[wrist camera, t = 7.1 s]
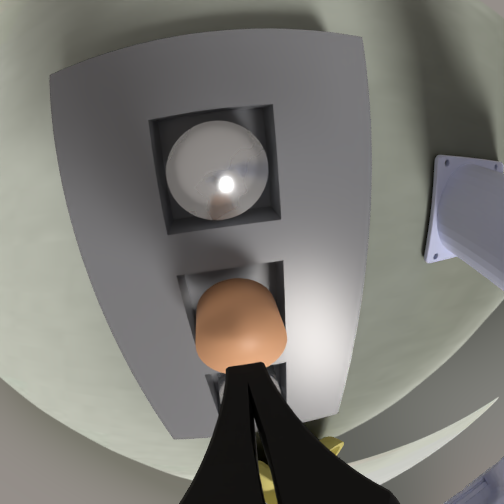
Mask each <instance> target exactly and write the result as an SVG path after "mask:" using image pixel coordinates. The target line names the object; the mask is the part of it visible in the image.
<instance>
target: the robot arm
mask: <svg viewBox="0 0 504 504" xmlns="http://www.w3.org/2000/svg"><path fill="white" fill-rule="evenodd" d="M445 161H446V164H445ZM453 257H459V258H460V259H461V260H463V261H464V262H466V263H467V264H468V265H470V266H471V267H473V268H474V269H475V270H477V271H478V272H479V273H481V274H482V275H483V276H485V277H486V278H487V279H489V280H490V281H491V282H493V283H494V284H495V285H496V286H498V287H499V288H500V289H501V290H503V291H504V174H503V164H502V162H499V161H493V160H486V159H478V158H470V157H460V156H449V155H437V156H436V158H435V164H434V182H433V195H432V205H431V214H430V222H429V229H428V236H427V243H426V248H425V254H424V260H425V261H426V262H427V263H433V262H437V261H441V260H445V259H449V258H453ZM254 419H255V421H254ZM255 422H256V426H257V429H258V432H259V436H260V439H261V442H262V445H263V448H264V452H265V455H266V458H267V461H268V464H269V468H270V471H271V476H272V480H273V485H274V489H275V494H276V498H277V503H278V504H400V503H399V501H398V500H397V498H396V497H395V496H394V495H393V494H392V493H391V492H390V491H389V490H388V489H386V488H384V487H382V486H380V485H378V484H377V483H375V482H373V481H372V480H370V479H368V478H367V477H365V476H363V475H362V474H360V473H359V472H357V471H356V470H354V469H353V468H352V467H350V466H349V465H348V464H346V463H345V462H344V461H343V460H341V459H340V458H338V457H337V456H336V455H335V454H334V453H332V452H331V451H330V450H329V449H328V448H327V447H326V446H325V445H324V444H322V443H321V442H320V441H319V440H318V439H317V438H316V437H315V436H314V435H313V434H312V433H311V432H310V431H309V429H308V428H307V427H306V426H305V425H304V424H303V423H302V421H301V420H300V419H299V418H298V417H297V416H296V414H295V413H294V412H293V410H292V409H291V408H290V406H289V405H288V404H287V402H286V401H285V400H284V398H283V397H282V395H281V394H280V392H279V391H278V389H277V387H276V386H275V384H274V382H273V381H272V379H271V377H270V375H269V373H268V371H267V369H266V366H265V364H264V363H263V362H256V363H250V364H244V365H237V366H230V367H228V368H226V377H225V386H224V392H223V398H222V402H221V407H220V411H219V415H218V419H217V422H216V425H215V428H214V432H213V435H212V438H211V441H210V443H209V446H208V449H207V451H206V454H205V456H204V458H203V461H202V463H201V465H200V467H199V469H198V471H197V473H196V475H195V477H194V479H193V481H192V483H191V485H190V487H189V488H188V490H187V492H186V493H185V495H184V497H183V498H182V500H181V501H180V503H179V504H266V503H265V498H264V493H263V488H262V484H261V479H260V473H259V466H258V455H257V444H256V433H255ZM442 504H504V457H503V458H501V460H499V461H498V462H497V463H496V464H495V465H493V466H492V467H491V468H489V469H488V470H486V471H485V472H484V473H482V474H481V475H480V476H479V477H477V478H476V479H475V480H473V481H472V482H471V483H469V484H468V485H467V486H466V488H464V489H463V490H462V491H460V492H459V493H457V494H456V495H455V496H453V497H452V498H450V499H449V500H447V501H446V502H444V503H442Z"/></svg>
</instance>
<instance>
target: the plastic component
mask: <svg viewBox="0 0 504 504" xmlns="http://www.w3.org/2000/svg"><path fill="white" fill-rule="evenodd" d="M319 441H320V442H321V443H322V444H324V445H325V446H326V447H327V448H328V449H329V450H330V451H331V452H332V453H334V454H335V455H336V456H337V454H338V453H339V451H340V450H341V448H342V447H343V444H344V442H342V441H341V440H339V439H336V438H334V437H324V438H322V439H320V440H319ZM258 466H259V473H260V479H261V484H262V488H263V493H264V498H265V502H266V503H267V504H278V503H277V498H276V494H275V489H274V485H273V480H272V476H271V471H270V468H269V466H268V465H267V464H265V463H264V462H262V461H258Z"/></svg>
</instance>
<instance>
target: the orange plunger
mask: <svg viewBox="0 0 504 504" xmlns="http://www.w3.org/2000/svg"><path fill="white" fill-rule="evenodd" d="M286 344H287V332H286V329H285V326H284V324H283V321H282V318H281V316H280V313H279V310H278V308H277V305H276V302H275V300H274V297H273V295H272V294H271V292H270V291H269V290H268V289H267V288H266V287H265V286H263V285H262V284H260V283H258V282H256V281H254V280H250V279H244V278H233V279H227V280H224V281H220V282H218V283H216V284H214V285H213V286H211V287H210V288H209V289H207V290H206V291H205V292H204V293H203V295H202V296H201V298H200V299H199V301H198V304H197V309H196V351H197V354H198V356H199V358H200V359H201V360H202V361H203V363H205V364H206V365H207V366H208V367H210V368H212V369H214V370H216V371H218V372H221V373H225V374H226V368H228V367H230V366H237V365H244V364H250V363H256V362H263V363H264V364H265V366H266V367H268V366H270V365H271V364H272V363H274V362H275V361H276V360H277V359H278V358H279V357H280V356H281V354H282V353H283V351H284V349H285V347H286Z"/></svg>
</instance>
